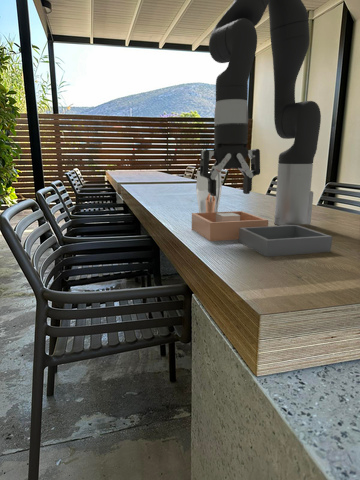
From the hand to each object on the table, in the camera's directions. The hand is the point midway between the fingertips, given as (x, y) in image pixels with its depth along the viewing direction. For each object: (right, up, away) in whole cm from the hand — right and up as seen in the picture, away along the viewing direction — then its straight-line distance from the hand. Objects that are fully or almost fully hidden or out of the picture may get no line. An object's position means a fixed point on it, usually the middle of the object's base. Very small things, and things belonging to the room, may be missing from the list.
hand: (229, 194), depth 80 cm
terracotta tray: (0, -10, +2) cm, 10 cm away
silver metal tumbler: (-4, -7, +16) cm, 17 cm away
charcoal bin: (+9, -13, -10) cm, 19 cm away
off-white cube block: (0, -9, +2) cm, 9 cm away
